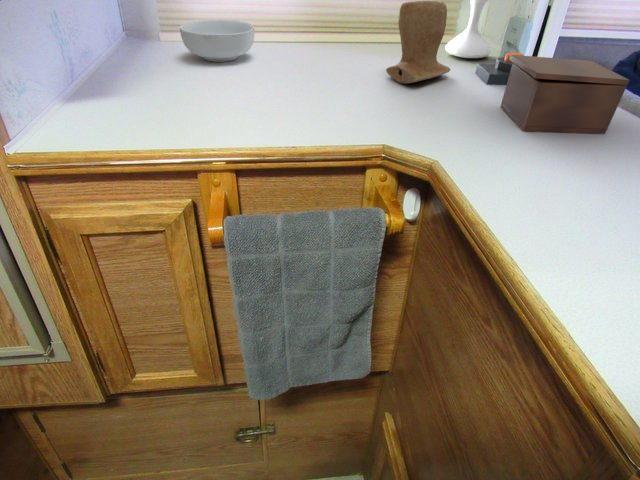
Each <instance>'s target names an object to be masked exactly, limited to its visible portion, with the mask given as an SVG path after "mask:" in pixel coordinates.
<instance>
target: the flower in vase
mask: <svg viewBox="0 0 640 480" xmlns="http://www.w3.org/2000/svg"><path fill="white" fill-rule="evenodd" d="M487 2H488V0H470V15H469V16H470V17H469V21H468V25H467V27H466V29H465V30H464V31H463V32H461V33H460V34H459V35H457V36H455V37H454V38H453V39H451V40H450V41H449V42H448V43H447V44H446V45H445V47H444V48H445V51H446V52H447V53H448V54H449V55H451V56H454V57H458V58H463V59H481V58H484V57H487V56H489V55H490V54H491V51H492V50H491V47H490V45H489V44H488V42H487V40H486V39H485V38H484V37H483V36H482V35H481V33H480V31H479V22H480V18H481V14H482V12H483V9H484V6H485V5H486V3H487Z"/></svg>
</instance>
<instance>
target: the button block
mask: <svg viewBox="0 0 640 480" xmlns="http://www.w3.org/2000/svg"><path fill="white" fill-rule="evenodd" d="M504 59H505V56H501V57H498V58H497V59H496V61H495V63H479V62H478V63H477V64H476V67H475V72H474V73H475V75H476V76H478V77H479V79H480V80H481V81H482V82H484V83H485V85H487V86H506V85H507V82H508V78H509V75H510V71H511V68H512V64H513V63H509V62H505V61H504Z"/></svg>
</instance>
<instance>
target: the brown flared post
mask: <svg viewBox="0 0 640 480" xmlns="http://www.w3.org/2000/svg"><path fill="white" fill-rule="evenodd" d="M398 14H399V15H398V31H399V37H400V44H401V58H400V61H399V62H397V63H396V64H393V65H392V66H389V67H387V68H386V69H385V70H386V73H387V74H388V75H389V76H390V77H391V78H392V79H393V80H394V81H395V82H397V83H400V84H412V83H418V82H421V81H427V80H430V79H433V78H436V77H440V76H442V75H445V74H448V73H449V72H450V71H451V68H450V67H449V66H447V65H444V64H443V63H440V62H438V59H437V57H438V56H437V55H438V53H439V49H440V46H441V43H442V41H443V38H444V36H445V33H446V32H445V31H446V27H447V17H448V8H447V5H446V3H445V1H438V0H416V1H406V2H403V3H402V4H401V5H400V7H399V13H398Z"/></svg>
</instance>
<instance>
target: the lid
mask: <svg viewBox="0 0 640 480" xmlns="http://www.w3.org/2000/svg"><path fill="white" fill-rule="evenodd" d="M509 60H511V61H512V62H513V63H515V64H516V65H518V66H519V67H520V68H522V69H523V70H525V71H526V72H527V73H529V74H530V75H531V76H533V77H534V78H538V79H551V80H564V81H578V82H591V83H605V84H618V85H626V86H628V85H629V83H630V79H628V78H626V77H625V76H623V75H621V74H619V73H616V72H614V71H613V70H611V69H609V68H608V67H605V66H604V65H603V66H602V65H601V64H598V63H597V62H595V61H593V60H585V59H571V58H561V57H559V58H558V57H546V56H545V57H544V56H532V55H524V56H521V55H510V59H509Z"/></svg>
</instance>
